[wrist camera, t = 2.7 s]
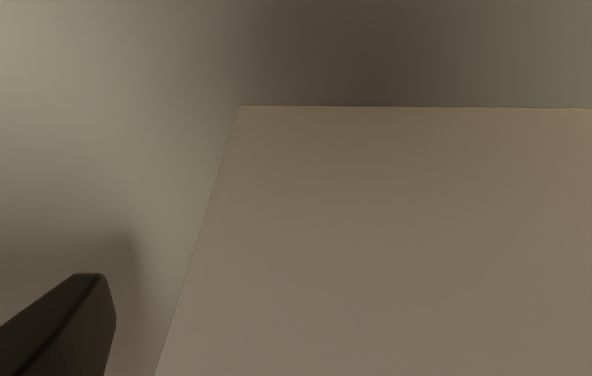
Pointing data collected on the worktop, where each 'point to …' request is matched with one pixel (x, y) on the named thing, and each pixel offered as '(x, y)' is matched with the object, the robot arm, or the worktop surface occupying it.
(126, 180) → the worktop surface
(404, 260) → the plug
